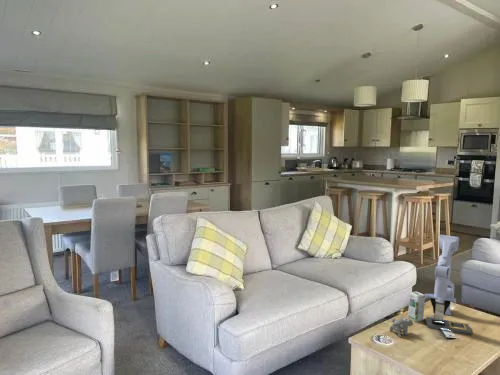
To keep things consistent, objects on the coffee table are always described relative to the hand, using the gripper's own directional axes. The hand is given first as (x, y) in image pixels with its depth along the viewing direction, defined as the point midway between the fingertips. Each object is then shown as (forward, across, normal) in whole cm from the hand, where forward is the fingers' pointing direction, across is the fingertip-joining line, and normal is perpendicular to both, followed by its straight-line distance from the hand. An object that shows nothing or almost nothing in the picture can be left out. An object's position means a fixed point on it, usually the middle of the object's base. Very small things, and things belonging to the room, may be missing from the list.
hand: (438, 313), depth 199 cm
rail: (+7, +4, 0) cm, 8 cm away
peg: (+2, 0, 0) cm, 3 cm away
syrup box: (+7, -11, +3) cm, 13 cm away
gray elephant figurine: (+7, -18, -16) cm, 25 cm away
